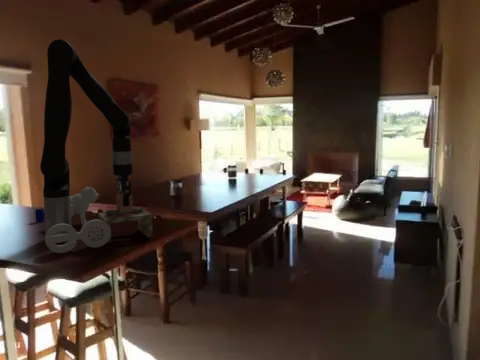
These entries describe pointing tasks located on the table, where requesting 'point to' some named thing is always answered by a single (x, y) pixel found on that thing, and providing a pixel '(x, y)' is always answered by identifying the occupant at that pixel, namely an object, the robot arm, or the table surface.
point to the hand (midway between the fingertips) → (124, 204)
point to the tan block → (120, 204)
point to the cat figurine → (82, 202)
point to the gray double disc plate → (78, 235)
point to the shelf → (129, 219)
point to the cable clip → (40, 215)
